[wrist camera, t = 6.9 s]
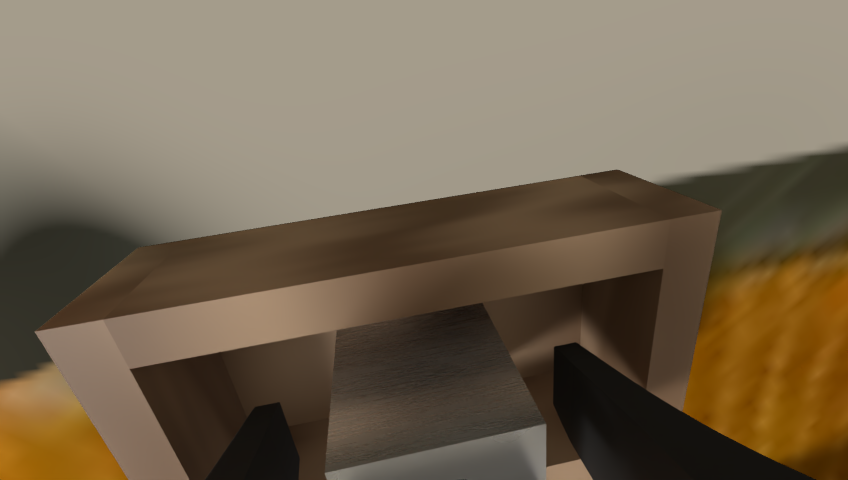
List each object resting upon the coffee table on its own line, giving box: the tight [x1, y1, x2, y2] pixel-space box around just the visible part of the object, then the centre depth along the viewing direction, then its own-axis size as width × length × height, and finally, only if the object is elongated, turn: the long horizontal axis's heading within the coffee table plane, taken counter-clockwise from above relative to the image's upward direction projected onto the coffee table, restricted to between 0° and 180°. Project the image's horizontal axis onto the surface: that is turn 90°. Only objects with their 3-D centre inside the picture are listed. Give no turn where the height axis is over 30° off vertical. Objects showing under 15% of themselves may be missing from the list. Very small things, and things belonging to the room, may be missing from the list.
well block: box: [35, 170, 722, 480], centre depth 12 cm, size 14×8×4 cm, turn 97°
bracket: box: [325, 303, 546, 480], centre depth 10 cm, size 4×4×7 cm
